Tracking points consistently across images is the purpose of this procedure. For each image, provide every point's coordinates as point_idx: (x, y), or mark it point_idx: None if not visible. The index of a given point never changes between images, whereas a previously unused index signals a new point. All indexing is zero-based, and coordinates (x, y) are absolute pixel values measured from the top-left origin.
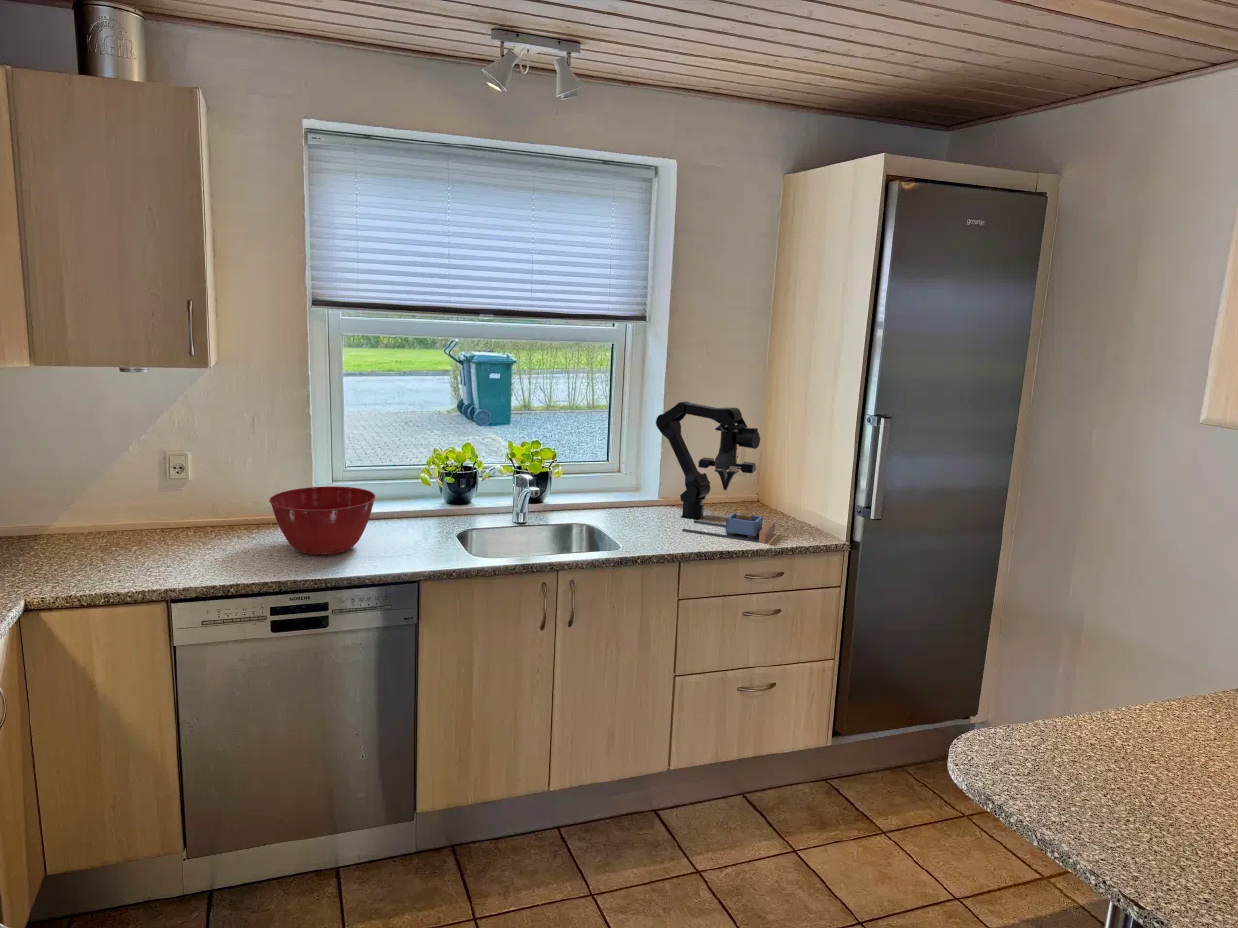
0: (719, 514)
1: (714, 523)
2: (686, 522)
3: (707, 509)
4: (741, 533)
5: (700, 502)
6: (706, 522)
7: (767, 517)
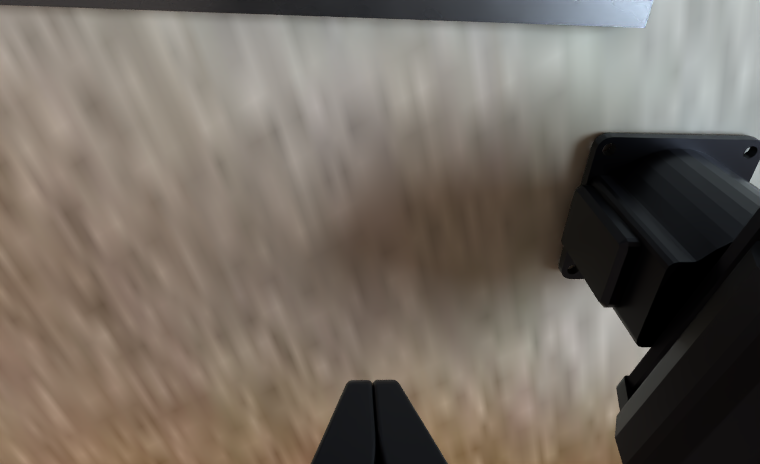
0: (446, 380)
1: (421, 4)
2: (710, 11)
3: (539, 441)
4: None
5: (663, 269)
6: (511, 1)
7: (135, 450)
